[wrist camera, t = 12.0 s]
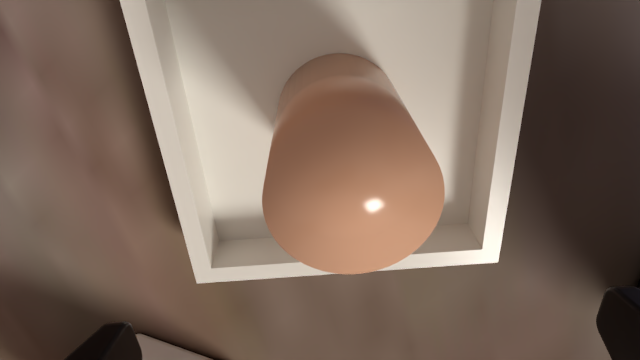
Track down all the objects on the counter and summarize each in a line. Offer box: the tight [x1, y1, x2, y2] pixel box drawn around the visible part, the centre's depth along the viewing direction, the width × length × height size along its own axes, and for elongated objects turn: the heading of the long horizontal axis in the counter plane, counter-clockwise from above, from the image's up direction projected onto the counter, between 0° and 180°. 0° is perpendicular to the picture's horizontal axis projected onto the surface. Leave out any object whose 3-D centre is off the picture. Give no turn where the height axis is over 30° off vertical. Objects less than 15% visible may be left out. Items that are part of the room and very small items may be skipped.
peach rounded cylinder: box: [262, 53, 445, 274], centre depth 15 cm, size 5×5×7 cm
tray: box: [120, 0, 541, 283], centre depth 17 cm, size 14×14×2 cm
